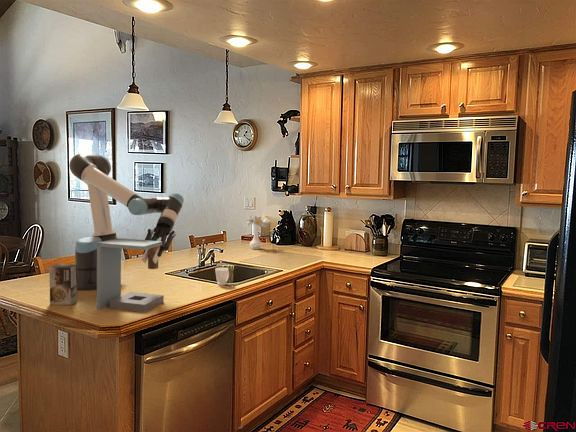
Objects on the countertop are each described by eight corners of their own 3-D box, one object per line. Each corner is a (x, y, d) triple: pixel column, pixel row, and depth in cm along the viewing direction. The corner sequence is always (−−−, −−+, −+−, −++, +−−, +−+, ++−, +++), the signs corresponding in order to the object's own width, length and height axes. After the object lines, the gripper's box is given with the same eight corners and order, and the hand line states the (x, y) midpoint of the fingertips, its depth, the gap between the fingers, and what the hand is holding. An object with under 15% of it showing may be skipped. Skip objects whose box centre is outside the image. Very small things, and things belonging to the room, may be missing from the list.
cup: (211, 284, 244) (212, 269, 243) (222, 280, 253) (223, 266, 252) (223, 286, 241) (223, 270, 240) (233, 282, 250) (234, 267, 249)
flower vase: (269, 248, 367) (270, 216, 365) (255, 250, 352) (256, 217, 350) (256, 246, 374) (257, 214, 372) (241, 248, 359) (242, 216, 357)
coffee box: (77, 301, 204) (77, 264, 203) (71, 305, 198) (71, 267, 197) (56, 300, 204) (55, 263, 203) (49, 304, 198) (48, 266, 196)
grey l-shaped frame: (96, 308, 194) (97, 242, 192) (117, 299, 209) (118, 238, 206) (143, 314, 190) (144, 246, 187) (161, 304, 204) (162, 241, 202)
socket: (109, 307, 196) (109, 300, 196) (130, 298, 212) (130, 291, 212) (144, 311, 193) (144, 304, 193) (163, 301, 208) (163, 295, 208)
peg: (146, 268, 212) (146, 242, 211) (151, 266, 216) (151, 240, 215) (155, 269, 211) (155, 242, 210) (160, 267, 215) (160, 241, 214)
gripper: (186, 227, 225) (169, 267, 211) (152, 224, 229) (134, 264, 214) (181, 216, 220) (164, 257, 205) (147, 214, 223) (127, 254, 209)
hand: (149, 261), depth 210 cm, fingers closed on peg, 4 cm apart
